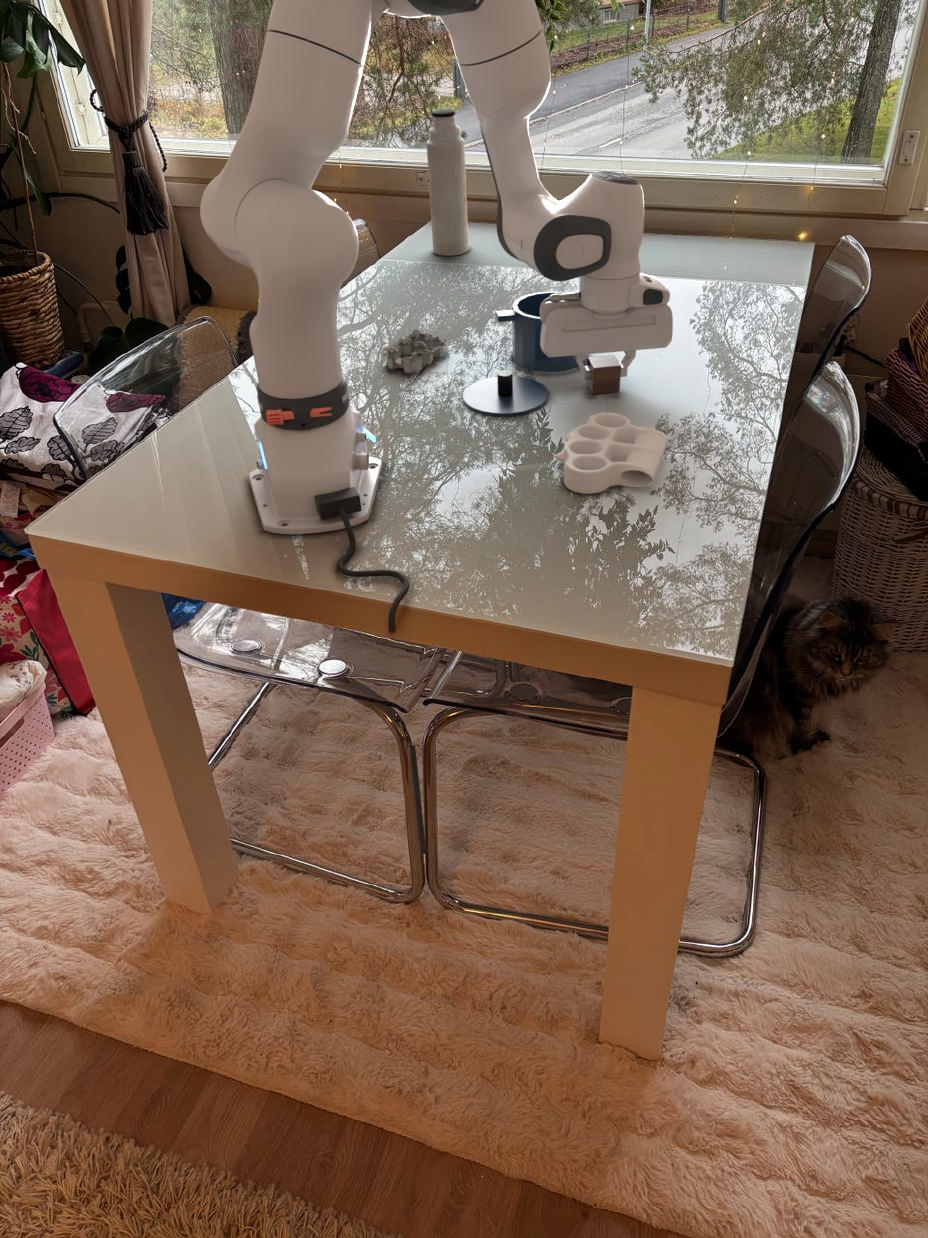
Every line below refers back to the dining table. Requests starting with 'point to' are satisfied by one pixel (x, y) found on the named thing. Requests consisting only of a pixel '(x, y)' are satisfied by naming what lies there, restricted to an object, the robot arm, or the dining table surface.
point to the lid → (505, 395)
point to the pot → (532, 335)
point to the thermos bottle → (447, 184)
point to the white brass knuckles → (611, 454)
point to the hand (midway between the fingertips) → (603, 377)
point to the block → (604, 374)
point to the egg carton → (422, 347)
